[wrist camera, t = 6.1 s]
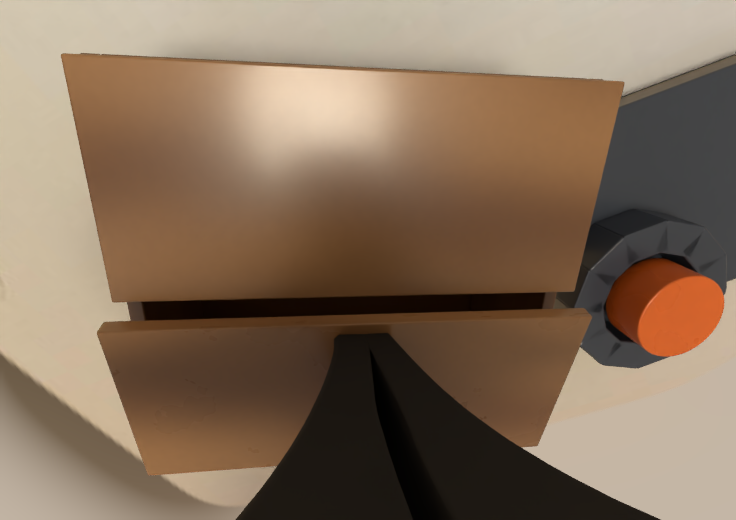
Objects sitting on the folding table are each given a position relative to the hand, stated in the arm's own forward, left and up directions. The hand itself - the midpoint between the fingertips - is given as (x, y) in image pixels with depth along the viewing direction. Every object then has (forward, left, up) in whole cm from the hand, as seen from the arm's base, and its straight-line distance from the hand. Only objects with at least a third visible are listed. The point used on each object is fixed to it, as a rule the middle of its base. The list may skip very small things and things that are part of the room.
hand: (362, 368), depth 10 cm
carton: (+1, 0, -7) cm, 7 cm away
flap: (-1, 0, -1) cm, 1 cm away
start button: (-5, -11, -4) cm, 12 cm away
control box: (-2, -13, -7) cm, 15 cm away
